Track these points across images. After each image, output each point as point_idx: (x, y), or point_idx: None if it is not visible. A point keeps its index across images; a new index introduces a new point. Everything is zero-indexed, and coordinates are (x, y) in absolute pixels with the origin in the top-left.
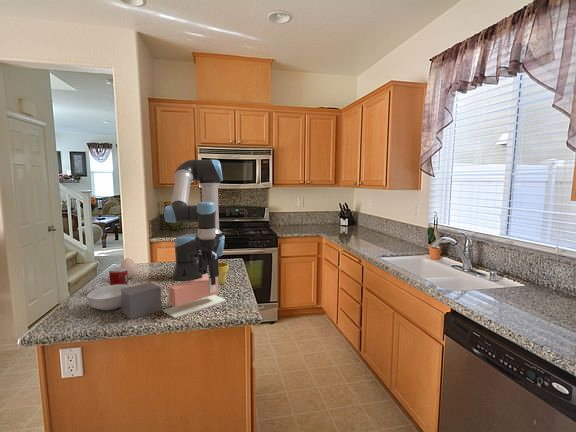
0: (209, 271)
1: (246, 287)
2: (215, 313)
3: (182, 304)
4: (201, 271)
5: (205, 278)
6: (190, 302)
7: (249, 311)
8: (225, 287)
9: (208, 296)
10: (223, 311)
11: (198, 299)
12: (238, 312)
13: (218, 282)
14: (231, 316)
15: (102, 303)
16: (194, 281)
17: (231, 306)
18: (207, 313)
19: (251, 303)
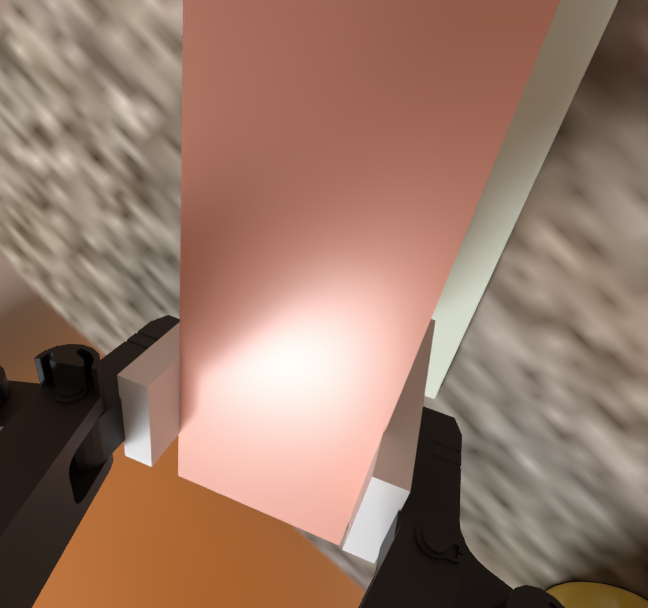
0: (5, 493)
1: (326, 548)
2: (131, 86)
3: (591, 13)
4: (420, 584)
5: (309, 416)
6: (522, 130)
7: (22, 245)
8: (465, 539)
9: (444, 344)
10: (121, 157)
11: (491, 246)
12: (45, 199)
13: (569, 601)
14: (16, 115)
15: None
16: (354, 175)
17: (156, 263)
18: (177, 39)
19: (110, 351)
